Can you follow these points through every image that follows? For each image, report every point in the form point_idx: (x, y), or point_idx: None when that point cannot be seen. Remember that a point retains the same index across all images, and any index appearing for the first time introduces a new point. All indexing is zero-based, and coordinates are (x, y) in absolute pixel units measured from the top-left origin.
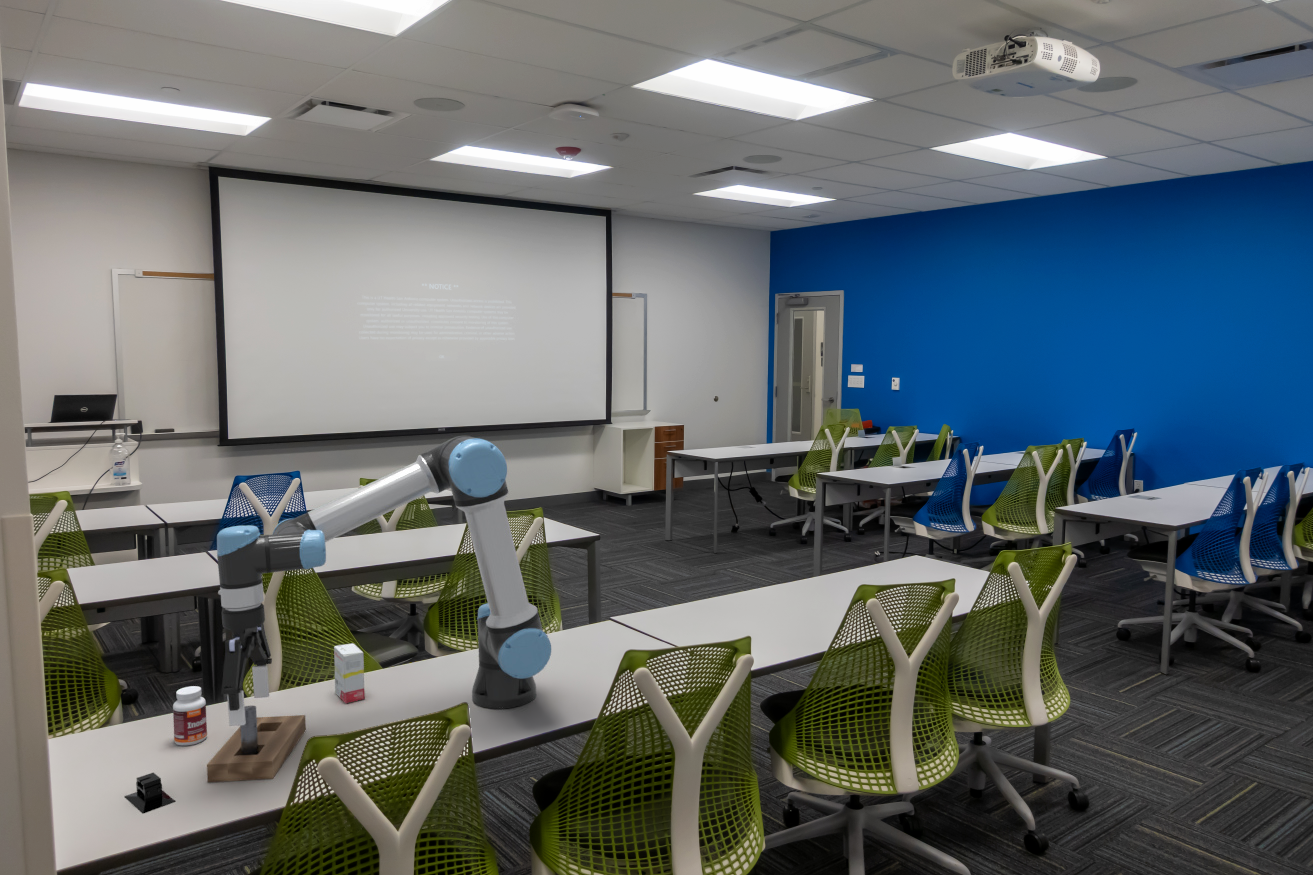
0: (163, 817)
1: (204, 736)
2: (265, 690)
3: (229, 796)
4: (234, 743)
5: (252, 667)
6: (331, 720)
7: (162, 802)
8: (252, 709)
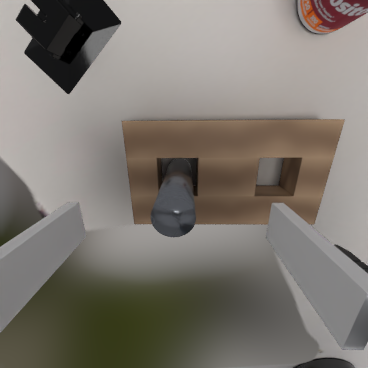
0: (20, 97)
1: (320, 31)
2: (276, 245)
3: (90, 171)
4: (211, 139)
5: (363, 293)
6: (323, 235)
7: (59, 72)
8: (164, 231)
